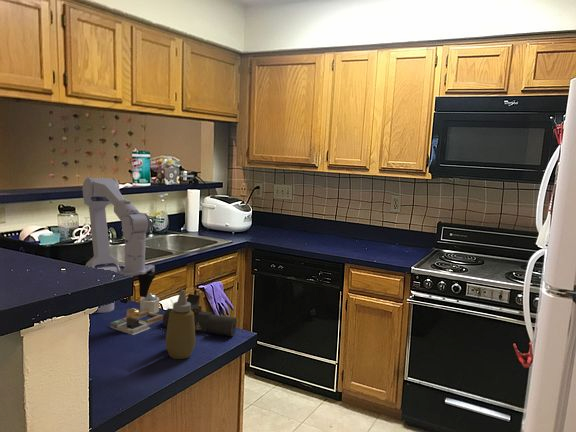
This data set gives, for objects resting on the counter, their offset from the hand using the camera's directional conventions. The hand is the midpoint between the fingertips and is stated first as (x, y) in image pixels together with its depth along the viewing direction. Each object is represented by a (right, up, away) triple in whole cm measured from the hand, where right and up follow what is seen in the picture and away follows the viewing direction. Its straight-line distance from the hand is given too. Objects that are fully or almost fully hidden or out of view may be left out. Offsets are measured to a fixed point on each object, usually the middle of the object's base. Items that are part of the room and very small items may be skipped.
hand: (133, 299), depth 141 cm
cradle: (-1, -10, +1) cm, 10 cm away
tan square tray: (+1, -9, +9) cm, 13 cm away
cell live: (-1, -9, +1) cm, 9 cm away
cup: (0, -8, +17) cm, 19 cm away
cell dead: (0, -7, +17) cm, 19 cm away
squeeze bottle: (+17, -13, -13) cm, 24 cm away
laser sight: (+18, -11, +5) cm, 22 cm away
